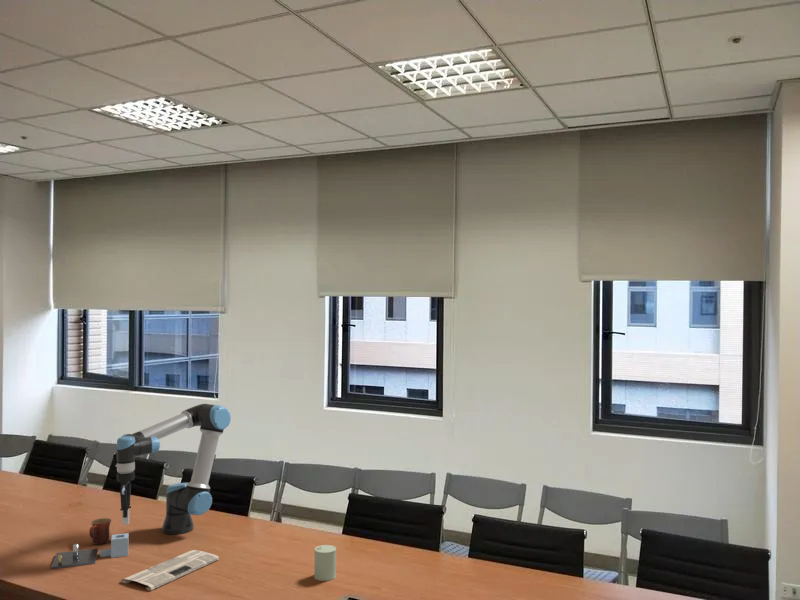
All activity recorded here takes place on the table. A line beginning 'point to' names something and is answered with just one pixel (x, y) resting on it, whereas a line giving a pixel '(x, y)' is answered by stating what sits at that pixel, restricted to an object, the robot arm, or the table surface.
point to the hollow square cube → (117, 546)
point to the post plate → (76, 561)
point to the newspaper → (172, 569)
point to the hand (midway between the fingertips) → (125, 523)
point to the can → (325, 562)
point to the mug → (100, 531)
